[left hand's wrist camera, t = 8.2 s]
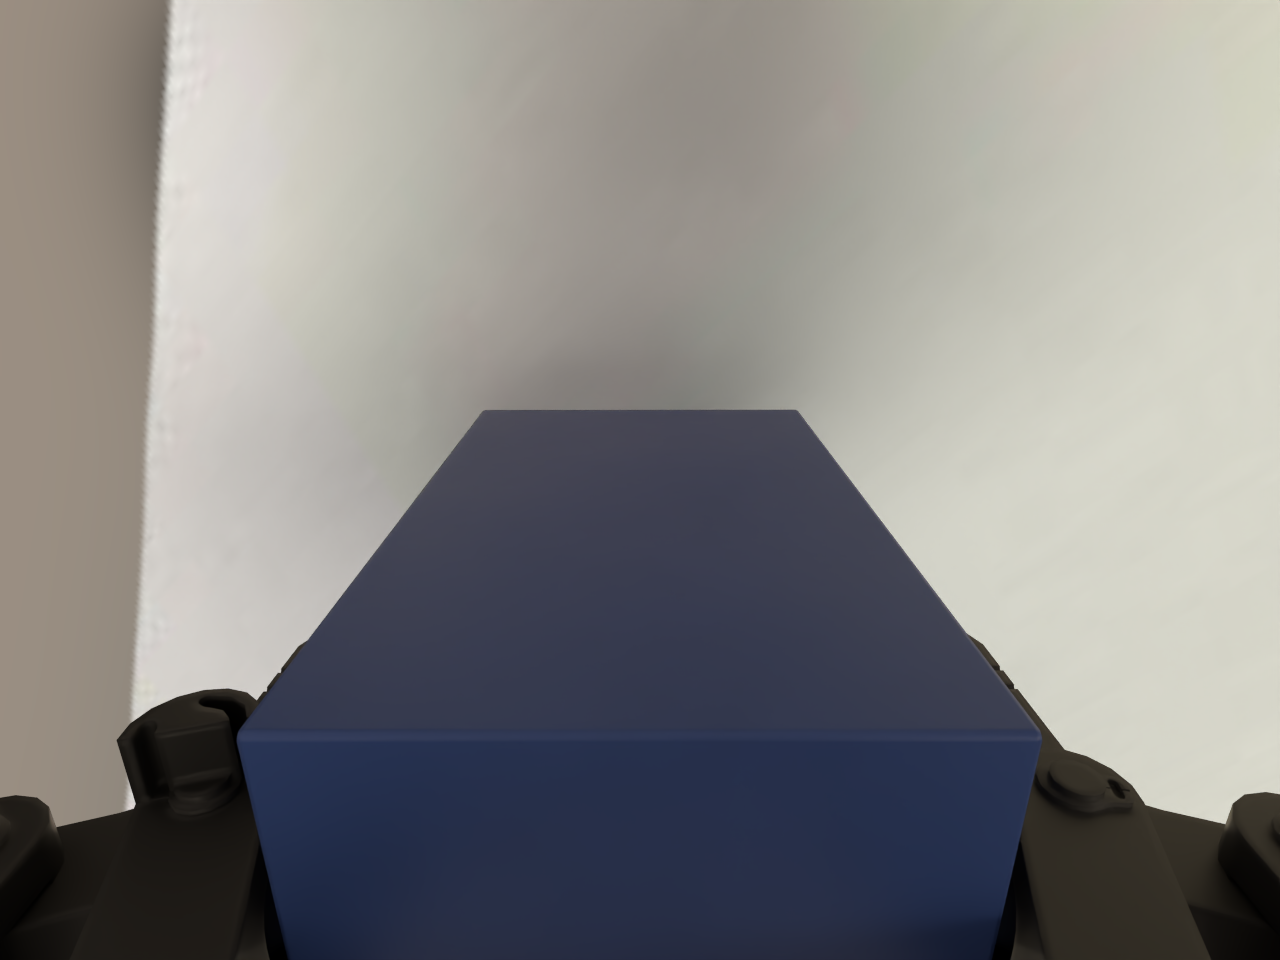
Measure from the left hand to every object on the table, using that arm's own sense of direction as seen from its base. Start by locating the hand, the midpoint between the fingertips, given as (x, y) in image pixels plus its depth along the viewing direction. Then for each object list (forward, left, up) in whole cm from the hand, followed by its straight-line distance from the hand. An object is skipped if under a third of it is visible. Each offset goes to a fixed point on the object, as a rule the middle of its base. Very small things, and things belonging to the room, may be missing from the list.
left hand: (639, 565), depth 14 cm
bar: (+10, +3, -1) cm, 11 cm away
